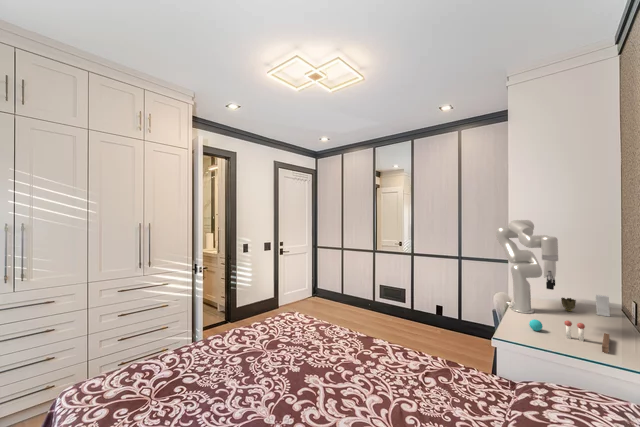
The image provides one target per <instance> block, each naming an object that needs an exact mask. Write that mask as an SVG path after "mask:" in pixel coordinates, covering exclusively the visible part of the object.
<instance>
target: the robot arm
mask: <svg viewBox="0 0 640 427" xmlns="http://www.w3.org/2000/svg"><path fill="white" fill-rule="evenodd" d="M534 228H535V224H534V223H533V222H532V221H531V220H529V219H520V220H519V219H517V220H512V221H510V222H509V223H508V226H501V227H500V226H499V228H497V229H496V231H495V235H496V240H497V242H498V243H499V244H500V245H501V247H502V249H503V251H504V253H505V255H506V257H507V260H508V262H509V263H511V264H513V265H511V267H510V272H511V277H512V287H513V288H512V289H513V291H512V292H513V301H511V302H510V301H506V305H507V306H509V307H510V306H511V307H510V308H511V311H514V312H517V313H521V314H533V313H534V312H535V309H534V308H532V298H531V296H532V295H531V294H532V293H531V285H530V284H531V283H530V282H529V281H528V280H527V279H534V278H535V279H538V278H540V277H542V276H543V278H545V279H546V287H545V288H546V290H551V291H552V290H554V289H555V287H556V277H557V276H556V275H557V263H556V262H559V242H558V237H556V236H551V235H545V234H543V235H542V234H540V235H538V234H537V235H536V234H535V235H534V230H535V229H534ZM512 239H518V242H519V243H520V244H521V245H523V246H524V247H525V248H528V249H537V248H538V249H539V248H540V249H541V261H543V269H542V267H541V265H540V263H539V261H538V259H537V257H536V255H535V254H534V252H533V251H531V250H528V249H519V247H518V246H517V243H515V242H514V241H513V240H512Z"/></svg>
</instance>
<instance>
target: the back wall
mask: <svg viewBox="0 0 640 427" xmlns="http://www.w3.org/2000/svg"><path fill="white" fill-rule="evenodd" d="M610 340H611V336H610V333H605V332H603V338H602V343H601V350H602V351H601V353H602V352H604V353H603V354H607V353H608V354H609V352H608V351H610V350H609V349H610Z"/></svg>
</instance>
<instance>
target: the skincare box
mask: <svg viewBox="0 0 640 427" xmlns="http://www.w3.org/2000/svg"><path fill="white" fill-rule="evenodd" d="M609 298H610V297H609V295H601V294H595V305H596V306H595V307H596V315H597V316H602V317H611V310H610V299H609Z"/></svg>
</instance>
